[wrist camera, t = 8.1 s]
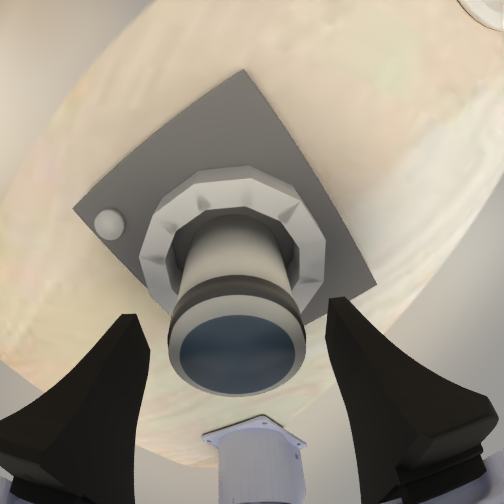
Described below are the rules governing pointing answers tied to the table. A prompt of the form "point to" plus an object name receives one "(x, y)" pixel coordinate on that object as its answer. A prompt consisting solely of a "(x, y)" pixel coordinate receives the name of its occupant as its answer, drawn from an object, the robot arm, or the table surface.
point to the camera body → (224, 199)
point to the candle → (486, 12)
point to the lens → (235, 312)
